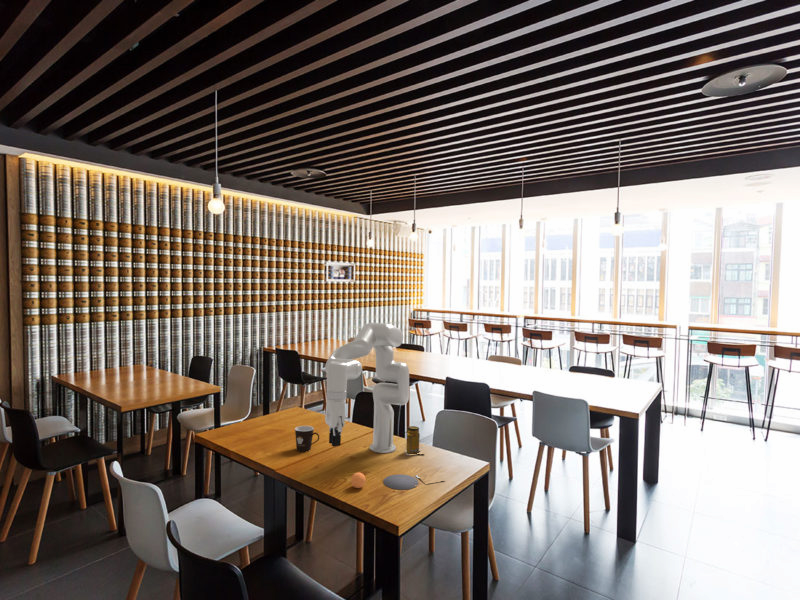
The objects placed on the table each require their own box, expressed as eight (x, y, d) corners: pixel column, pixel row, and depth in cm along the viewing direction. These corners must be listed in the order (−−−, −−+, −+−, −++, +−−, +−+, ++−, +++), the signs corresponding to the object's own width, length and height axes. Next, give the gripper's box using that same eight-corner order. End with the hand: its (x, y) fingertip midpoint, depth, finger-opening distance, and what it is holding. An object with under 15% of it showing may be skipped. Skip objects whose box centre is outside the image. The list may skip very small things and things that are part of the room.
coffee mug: (290, 449, 203) (291, 427, 203) (306, 445, 209) (307, 424, 209) (304, 456, 194) (305, 434, 194) (320, 452, 200) (321, 430, 200)
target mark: (377, 477, 174) (377, 477, 174) (408, 472, 180) (408, 472, 180) (392, 492, 161) (392, 491, 161) (425, 486, 167) (425, 485, 167)
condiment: (404, 450, 207) (405, 425, 207) (422, 450, 208) (423, 425, 208) (406, 455, 200) (407, 429, 200) (424, 455, 201) (425, 429, 201)
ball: (348, 485, 165) (349, 471, 165) (362, 483, 168) (362, 469, 168) (353, 491, 160) (354, 476, 160) (367, 489, 163) (368, 474, 163)
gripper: (320, 391, 167) (318, 438, 167) (333, 400, 152) (331, 452, 152) (339, 390, 170) (337, 436, 170) (353, 399, 155) (351, 450, 155)
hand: (334, 444), depth 161 cm, fingers open, 2 cm apart
